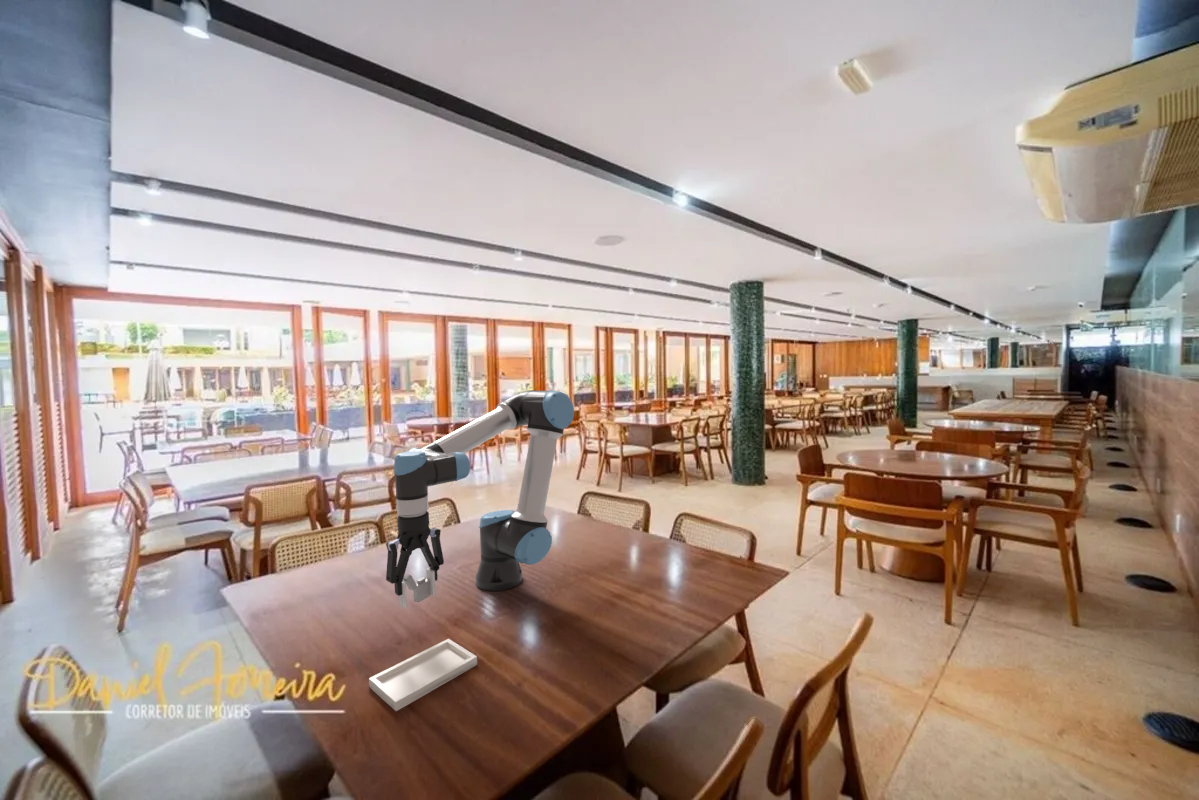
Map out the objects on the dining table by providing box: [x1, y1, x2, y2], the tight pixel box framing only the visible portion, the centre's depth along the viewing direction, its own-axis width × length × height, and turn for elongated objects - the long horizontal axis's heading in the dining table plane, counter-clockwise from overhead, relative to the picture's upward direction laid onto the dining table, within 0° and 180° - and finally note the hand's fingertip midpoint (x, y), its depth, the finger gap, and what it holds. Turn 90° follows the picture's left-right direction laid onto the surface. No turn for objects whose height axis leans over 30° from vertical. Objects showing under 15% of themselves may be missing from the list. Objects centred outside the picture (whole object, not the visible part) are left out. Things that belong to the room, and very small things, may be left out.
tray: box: [368, 638, 478, 712], centre depth 109 cm, size 20×12×2 cm, turn 140°
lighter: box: [403, 574, 431, 603], centre depth 122 cm, size 7×2×8 cm, turn 153°
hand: (417, 599), depth 122 cm, fingers closed on lighter, 7 cm apart
